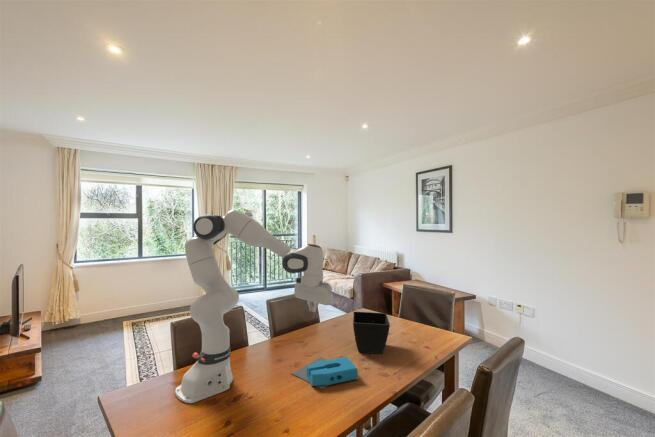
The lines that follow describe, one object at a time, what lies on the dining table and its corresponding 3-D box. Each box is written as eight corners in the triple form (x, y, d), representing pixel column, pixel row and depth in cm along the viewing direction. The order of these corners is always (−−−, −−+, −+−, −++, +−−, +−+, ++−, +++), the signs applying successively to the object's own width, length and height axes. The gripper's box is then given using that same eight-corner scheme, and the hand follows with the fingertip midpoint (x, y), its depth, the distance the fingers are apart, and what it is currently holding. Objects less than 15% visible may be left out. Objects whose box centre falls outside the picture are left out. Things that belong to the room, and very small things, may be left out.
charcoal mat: (322, 389, 118) (322, 388, 118) (291, 374, 129) (291, 373, 129) (349, 369, 134) (349, 368, 134) (320, 357, 145) (320, 357, 145)
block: (313, 389, 117) (357, 379, 124) (313, 377, 117) (357, 368, 124) (305, 374, 128) (345, 366, 136) (305, 363, 129) (345, 356, 136)
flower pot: (386, 341, 165) (386, 312, 165) (390, 357, 146) (390, 324, 146) (353, 340, 167) (353, 311, 167) (352, 355, 148) (353, 322, 148)
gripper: (335, 282, 124) (335, 314, 124) (301, 276, 137) (301, 305, 137) (326, 285, 119) (326, 318, 119) (292, 278, 132) (291, 308, 132)
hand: (312, 311), depth 128 cm, fingers closed
